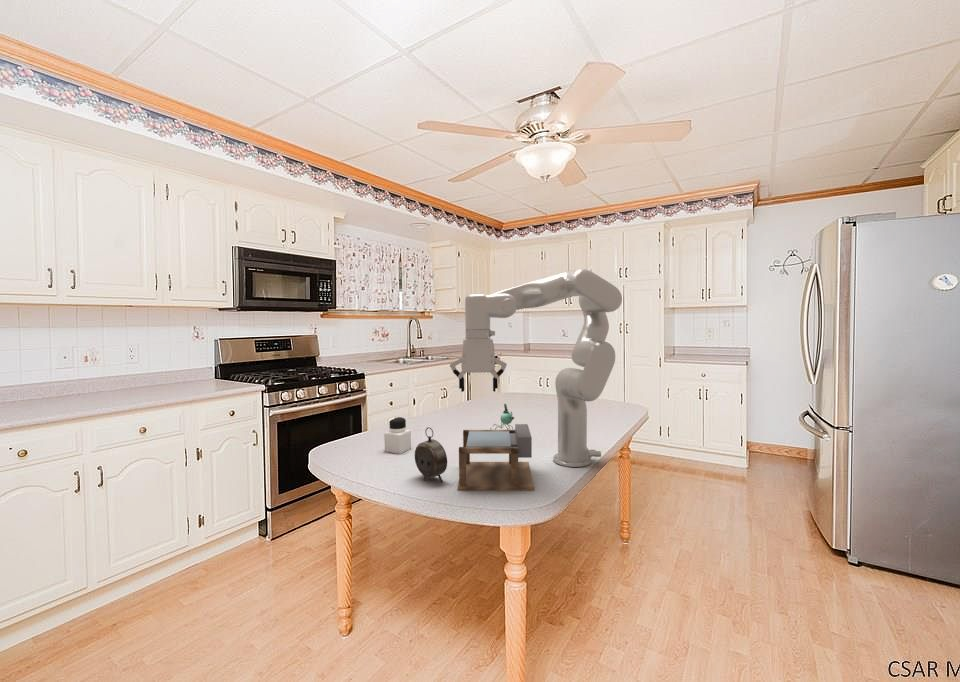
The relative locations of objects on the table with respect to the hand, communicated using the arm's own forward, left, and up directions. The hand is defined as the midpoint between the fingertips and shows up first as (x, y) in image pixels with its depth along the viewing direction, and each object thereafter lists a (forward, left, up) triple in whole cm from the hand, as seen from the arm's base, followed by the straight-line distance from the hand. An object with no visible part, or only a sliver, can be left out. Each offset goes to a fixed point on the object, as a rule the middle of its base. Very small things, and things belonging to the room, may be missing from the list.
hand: (478, 390), depth 136 cm
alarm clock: (+15, +3, -27) cm, 31 cm away
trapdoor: (-6, 0, -18) cm, 19 cm away
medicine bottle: (+31, -26, -27) cm, 49 cm away
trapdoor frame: (-5, 0, -27) cm, 27 cm away
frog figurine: (-9, -43, -27) cm, 52 cm away
